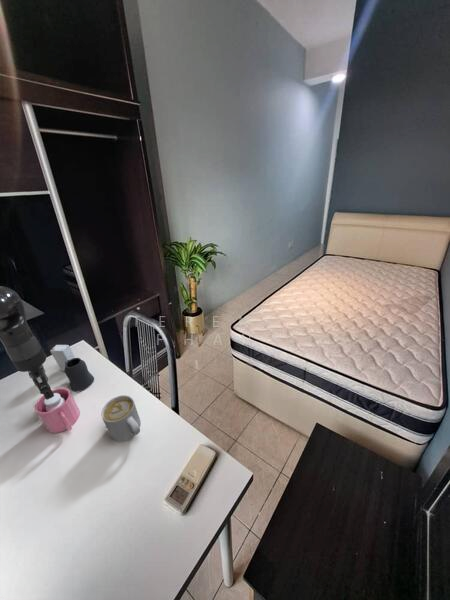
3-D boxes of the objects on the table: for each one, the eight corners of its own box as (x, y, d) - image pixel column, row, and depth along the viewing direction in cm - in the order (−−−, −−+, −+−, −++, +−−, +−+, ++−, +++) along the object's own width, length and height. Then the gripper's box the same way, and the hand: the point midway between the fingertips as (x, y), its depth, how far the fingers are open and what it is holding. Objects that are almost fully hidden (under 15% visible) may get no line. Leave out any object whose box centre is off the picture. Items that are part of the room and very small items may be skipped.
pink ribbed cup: (42, 421, 88) (30, 402, 83) (73, 401, 94) (64, 383, 89) (56, 446, 79) (43, 426, 74) (88, 423, 86) (79, 403, 81)
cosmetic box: (79, 365, 112) (70, 344, 107) (73, 372, 109) (63, 350, 103) (66, 364, 113) (56, 343, 107) (60, 371, 109) (49, 350, 103)
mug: (98, 380, 103) (90, 359, 98) (76, 395, 97) (66, 374, 92) (83, 369, 110) (75, 349, 104) (62, 382, 103) (52, 362, 98)
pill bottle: (73, 408, 91) (63, 389, 86) (70, 421, 86) (60, 402, 81) (55, 413, 89) (44, 395, 84) (52, 427, 84) (40, 408, 79)
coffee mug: (105, 427, 84) (96, 408, 79) (132, 409, 90) (126, 390, 85) (121, 456, 75) (112, 436, 70) (150, 433, 81) (144, 414, 76)
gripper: (7, 347, 75) (30, 384, 83) (13, 370, 66) (38, 410, 74) (36, 336, 80) (55, 373, 88) (45, 356, 71) (65, 395, 78)
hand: (47, 390), depth 81 cm, fingers open, 8 cm apart
